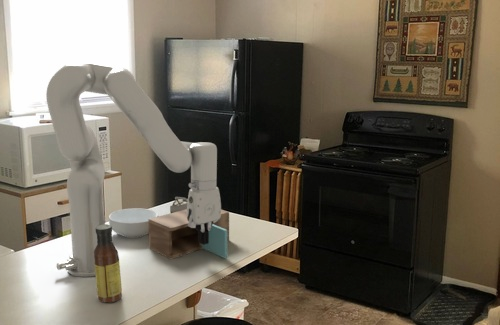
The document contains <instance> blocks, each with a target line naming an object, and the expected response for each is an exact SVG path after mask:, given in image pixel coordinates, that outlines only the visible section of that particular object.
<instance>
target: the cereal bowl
mask: <svg viewBox="0 0 500 325" xmlns="http://www.w3.org/2000/svg"><path fill="white" fill-rule="evenodd" d="M158 216H159V213H158V212H157V211H155V210H153V209H148V208H140V207H139V208H137V207H135V208H132V207H131V208H124V209H123V208H122V209H119V210H115V211H112V212H111V213H110V214H109V216H108V225H111V226H112V232H114V233H116V234H118V235H121V236H123V238H130V239H137V238H142V237H144V236H145V235H147V234H149V223H148V219H150V218H154V217H158Z"/></svg>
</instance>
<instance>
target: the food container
mask: <svg viewBox="0 0 500 325" xmlns="http://www.w3.org/2000/svg"><path fill="white" fill-rule="evenodd" d="M187 202H188V198H186V197H182V196H175V197H174V201H173V203H172V205H170V206H169V212H170V213H174V212H178V211H182V210H186V209H187ZM170 213H169V214H170Z"/></svg>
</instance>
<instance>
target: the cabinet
mask: <svg viewBox="0 0 500 325" xmlns="http://www.w3.org/2000/svg"><path fill="white" fill-rule="evenodd" d="M148 223H149V233H148V246H149V248H150V250H152V251H154V252H156V253H158V252H159V253H158V254H160V253H161V254H160V255H162V254H163V255H162V256H165V257H166V256H167V258H169V259H175V258H178V257H181V256H185V255H187V254H190V253H191V254H192V253H194V252H198V251H200V250H204V249H203V248H202V244H201V243H199V242H198V230H196V228H190V227H188V223H189V221H188V220H187V209H186V210H182V211H178V212H174V213H166V214H162V215H158V217H154V218H150V219H148ZM213 224H214V225H216V226H219V227H221V228H224V229H226V230H227V236H228V237H229V238H230V211H227V210H224V209H221V217H220V219H218V221H216V222H215V223H213ZM149 248H148V249H149Z"/></svg>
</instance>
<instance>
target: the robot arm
mask: <svg viewBox="0 0 500 325" xmlns="http://www.w3.org/2000/svg"><path fill="white" fill-rule="evenodd" d="M84 92H87V93H94V94H99V95H100V94H101V95H107V96H108V97H109V98H110V99H111V100H112V101H113V103H114V104H115V105H116V106H117V108H119V110H120V111H121V113H123V115H124V116H125V117H126V118H127V119H128V121H129V122H130V123H131V125H132V126H133V127H134V129H136V131H137V132H138V133H139V134H140V136H141V137H142V138H143V139H144V140H145V142H146V143H147V144H148V146H149V147H150V148H151V150H152V151H153V152H154V153H155V155H156V156H157V157H158V158H159V159H160V161H161V162H162V163H163V164H164V165H165V166H166V167H167V169H168V170H170V171H172V172H174V173H177V174H178V173H184V172H186V171H187V170H189V169H190V182H189V183H188V187H189V188H190V189H189V191H188V195H187V196H188V197H187V199H188V202H187V220H188V221H189V223H188V227H190V228H196V230H198V242H199V243H201V244H203V245H205V244H208V243H209V231H210V229H211V226H212V224H213V223H215V222H216V221H218V219H220V217H221V210H222V202H221V194H220V189H219V187H218V186H217V178H218V177H217V172H218V171H217V170H218V167H217V166H218V165H217V164H218V161H217V160H218V148H217V145H216V144H215V143H212V142H209V141H208V142H202V141H200V142H199V141H198V142H191V141H190V142H189V141H181V140H180V139H179V138H178V136H176V134H175V133H174V132H173V130H172V128H171V127H170V126H169V125H168V123H167V121H166V120H165V118H164V116H163V113H162V111H161V110H160V109H159V107H158V106H157V105H156V103H155V102H154V101H153V100H152V99H151V98H150V96H148V94H147V93H146V92H145V91H144V90H143V88H142V87H141V85H140V84H139V82H138V81H136V79H135V76H134V74H133V73H132V72H131V71H129V70H128V69H126V68H125V67H119V66H118V67H117V66H112V65H111V66H110V65H105V64H100V63H99V64H98V63H93V62H88V61H82V60H80V61H73V62H69V63H67V64H65V65H64V66H62V67H61V68H60V69H58V70H57V71H56V72H55V73H54V74H53V75H52V77H51V78H50V79H49V82H48V85H47V87H46V102H47V103H46V104H47V108H48V111H49V115H50V119H51V124H52V127H53V130H54V134H55V138H56V141H57V146H58V150H59V151H60V154H61V155H62V157H63V158H65V159H66V160H68V164H69V166H70V171H69V174H68V175H67V179H66V180H67V181H66V191H67V198H68V204H69V205H68V206H69V207H68V208H69V220H70V231H71V233H70V234H71V249H72V252H71V253H72V255H69V259H66V260H65V261H61V262H56V268H57V270H58V271H60V270H64V269H65V271H68V273H69V274H71V275H72V276H74V277H82V278H86V277H88V278H89V277H96V274H95V264H94V263H95V259H94V250H95V248H96V246H97V234H96V227H97V226H99V225H103V224H106V220H105V218H106V217H105V204H104V194H103V192H104V190H103V189H104V187H103V184H104V180H105V174H106V169H105V166H104V163H103V158H102V155H101V152H100V151H101V150H100V148H99V145H98V140H97V137H96V134H95V132H94V130H93V129H92V128H91V127H90V126H88V125H87V124H86V121H85V118H84V112H83V110H82V106H81V103H80V96H81V94H83V93H84Z"/></svg>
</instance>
